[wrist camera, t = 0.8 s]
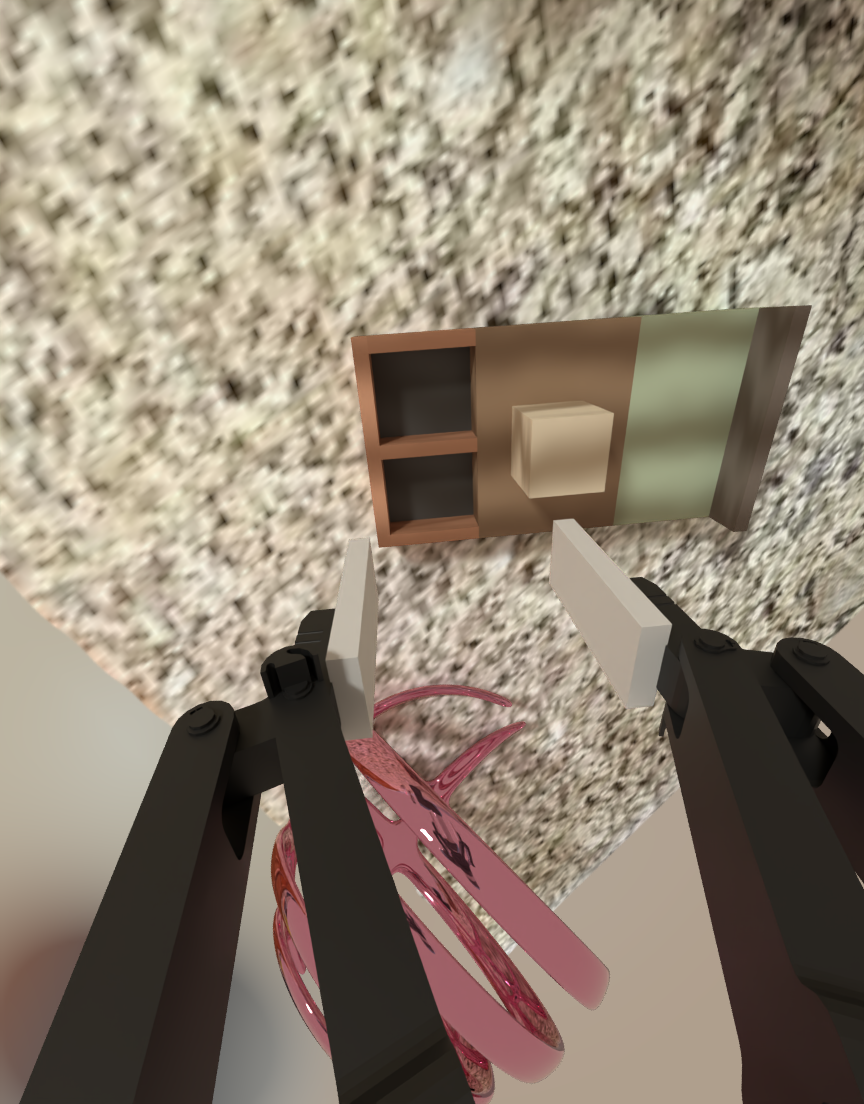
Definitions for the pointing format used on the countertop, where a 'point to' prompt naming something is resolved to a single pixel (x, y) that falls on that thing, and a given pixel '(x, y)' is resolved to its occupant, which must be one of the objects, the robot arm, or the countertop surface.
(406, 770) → the spiral basket
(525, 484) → the maple block
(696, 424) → the board
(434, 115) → the countertop surface
